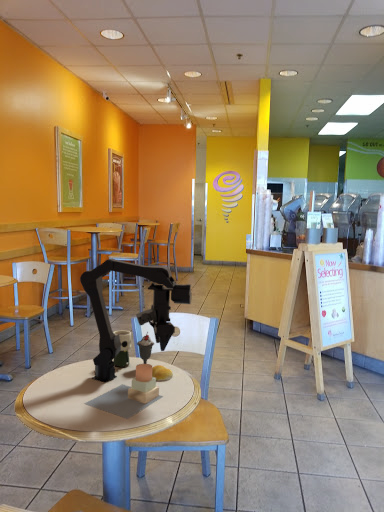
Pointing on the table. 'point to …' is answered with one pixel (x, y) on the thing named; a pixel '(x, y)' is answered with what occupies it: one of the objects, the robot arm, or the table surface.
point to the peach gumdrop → (144, 372)
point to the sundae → (145, 348)
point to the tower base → (143, 395)
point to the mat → (119, 402)
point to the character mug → (123, 348)
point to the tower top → (143, 385)
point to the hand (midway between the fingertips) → (160, 346)
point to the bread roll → (161, 373)
